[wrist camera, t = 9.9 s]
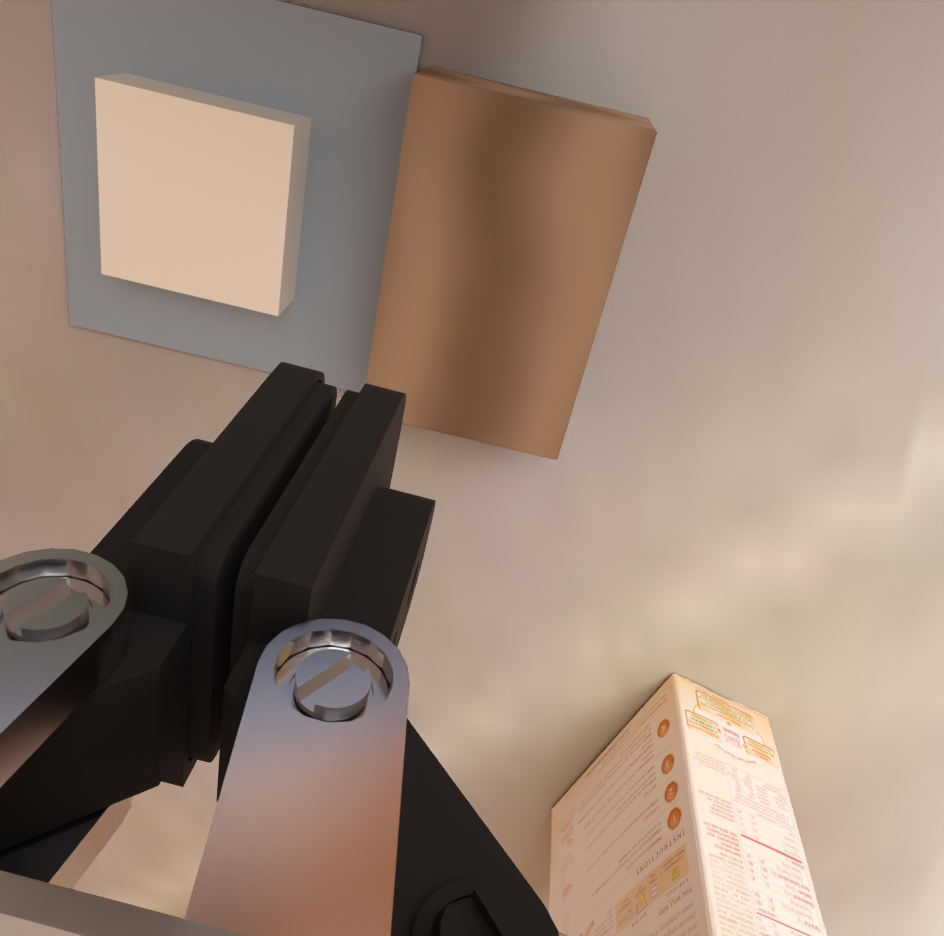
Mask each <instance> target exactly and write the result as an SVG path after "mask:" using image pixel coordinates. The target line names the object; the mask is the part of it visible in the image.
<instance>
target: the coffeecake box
mask: <svg viewBox="0 0 944 936" xmlns="http://www.w3.org/2000/svg"><path fill="white" fill-rule="evenodd" d="M549 915H550V916H551V918H552V920H553V922H554V924H555V925H556V927H557V929H558V931H559V932H561V933H563V934H565V935H567V936H827V933H826V930H825V926H824V923H823V919H822V916H821V912H820V908H819V904H818V901H817V897H816V894H815V890H814V886H813V882H812V879H811V875H810V871H809V868H808V864H807V860H806V856H805V853H804V849H803V845H802V842H801V838H800V835H799V831H798V827H797V824H796V820H795V816H794V813H793V809H792V806H791V802H790V798H789V794H788V790H787V787H786V783H785V779H784V776H783V772H782V768H781V764H780V761H779V757H778V753H777V749H776V746H775V742H774V739H773V735H772V731H771V728H770V724H769V719H768V717H766V716H764V715H762V714H760V713H758V712H756V711H754V710H752V709H750V708H747V707H745V706H743V705H741V704H739V703H736V702H733V701H731V700H728V699H725V698H723V697H721V696H719V695H717V694H715V693H713V692H712V691H710V690H708V689H706V688H704V687H703V686H701V685H698V684H696V683H694V682H692V681H690V680H688V679H686V678H683V677H681V676H679V675H677V674H672V675H671V676H670V677H669V678H668V680H667V681H666V682H665V683H664V684H663V685H662V686H661V687H660V688H659V689H658V691H657V692H656V693H655V694H654V695H653V696H652V697H651V698H650V699H649V701H648V702H647V703H646V704H645V705H644V706H643V707H642V708H641V710H640V711H639V712H638V713H637V714H636V715H635V716H634V717H633V719H632V720H631V721H630V722H629V723H628V724H627V725H626V726H625V727H624V729H623V730H622V731H621V732H620V733H619V734H618V735H617V736H616V738H615V739H614V740H613V741H612V742H611V743H610V744H609V745H608V747H607V748H606V749H605V750H604V751H603V752H602V753H601V754H600V755H599V757H598V758H597V759H596V760H595V761H594V762H593V763H592V764H591V766H590V767H589V768H588V769H587V770H586V771H585V772H584V774H583V775H582V776H581V777H580V778H579V779H578V780H577V781H576V782H575V784H574V785H573V786H572V787H571V788H570V789H569V790H568V791H567V793H566V794H565V795H564V796H563V797H562V798H561V799H560V800H559V801H558V803H557V804H556V805H555V806H554V807H553V808H552V809H551V862H550V895H549Z"/></svg>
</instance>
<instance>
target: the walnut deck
mask: <svg viewBox="0 0 944 936" xmlns="http://www.w3.org/2000/svg"><path fill="white" fill-rule="evenodd" d="M656 134H657V132H656V130H655V129H654V127H653V125H652V124H651V122H650V120H649V119H648V118H644V117H640V116H635V115H631V114H627V113H623V112H619V111H615V110H611V109H607V108H602V107H598V106H594V105H590V104H586V103H582V102H578V101H573V100H569V99H565V98H561V97H557V96H553V95H549V94H544V93H540V92H536V91H532V90H528V89H524V88H520V87H516V86H511V85H507V84H503V83H499V82H495V81H491V80H487V79H482V78H478V77H474V76H470V75H466V74H462V73H458V72H453V71H449V70H445V69H441V68H437V67H433V66H430V67H427V68H425V69H423V70H420V71H418V72H416V73H414V74H413V78H412V84H411V91H410V97H409V104H408V111H407V117H406V124H405V130H404V137H403V143H402V150H401V157H400V163H399V170H398V176H397V183H396V189H395V196H394V203H393V209H392V216H391V222H390V229H389V235H388V242H387V249H386V255H385V262H384V268H383V275H382V281H381V288H380V295H379V301H378V308H377V314H376V321H375V328H374V334H373V341H372V347H371V354H370V360H369V367H368V374H367V380H366V383H367V384H371V385H375V386H379V387H382V388H386V389H390V390H394V391H398V392H402V393H406V404H405V410H404V415H403V420H402V423H404V424H408V425H412V426H417V427H421V428H425V429H429V430H433V431H438V432H442V433H446V434H450V435H454V436H458V437H463V438H467V439H471V440H475V441H479V442H484V443H488V444H492V445H496V446H500V447H504V448H509V449H513V450H517V451H521V452H525V453H530V454H534V455H538V456H542V457H546V458H550V459H555V460H557V458H558V455H559V452H560V448H561V445H562V442H563V438H564V435H565V432H566V429H567V425H568V422H569V419H570V416H571V412H572V409H573V406H574V402H575V399H576V396H577V393H578V389H579V386H580V383H581V379H582V376H583V373H584V370H585V366H586V363H587V360H588V357H589V353H590V350H591V347H592V343H593V340H594V337H595V334H596V330H597V327H598V324H599V320H600V317H601V314H602V311H603V307H604V304H605V301H606V298H607V294H608V291H609V288H610V284H611V281H612V278H613V275H614V271H615V268H616V265H617V261H618V258H619V255H620V252H621V248H622V245H623V242H624V239H625V235H626V232H627V229H628V225H629V222H630V219H631V216H632V212H633V209H634V206H635V202H636V199H637V196H638V193H639V189H640V186H641V183H642V180H643V176H644V173H645V170H646V166H647V163H648V160H649V157H650V153H651V150H652V147H653V143H654V140H655V137H656Z"/></svg>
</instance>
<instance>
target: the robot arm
mask: <svg viewBox="0 0 944 936" xmlns="http://www.w3.org/2000/svg"><path fill="white" fill-rule="evenodd" d="M336 397H337V388H336V386H332V385H328V384H325V375H324V373H323V372H321V371H317V370H313V369H309V368H305V367H301V366H297V365H293V364H290V363H286V362H281V363H280V364H278V366H277V367H276V368H275V369H274V370H273V372H272V373H271V374H270V375H269V376H268V378H267V379H266V380H265V381H264V382H263V384H262V385H261V386H260V387H259V388H258V390H257V391H256V392H255V393H254V394H253V396H252V397H251V398H250V399H249V400H248V402H247V403H246V404H245V405H244V406H243V408H242V409H241V410H240V411H239V412H238V414H237V415H236V416H235V417H234V418H233V420H232V421H231V422H230V423H229V424H228V426H227V427H226V428H225V429H224V430H223V432H222V433H221V434H220V435H219V436H218V438H217V439H216V440H215V441H214V442H213V443H211V442H207V441H204V440H200V439H195V440H192V441H190V442H189V443H188V444H187V445H186V446H185V447H184V448H183V449H182V450H181V451H180V452H179V453H178V455H177V456H176V457H175V458H174V459H173V460H172V461H171V462H170V464H169V465H168V466H167V467H166V468H165V469H164V470H163V472H162V473H161V474H160V475H159V476H158V477H157V478H156V479H155V481H154V482H153V483H152V484H151V485H150V486H149V487H148V488H147V490H146V491H145V492H144V493H143V494H142V495H141V496H140V497H139V499H138V500H137V501H136V502H135V503H134V504H133V505H132V507H131V508H130V509H129V510H128V511H127V512H126V513H125V514H124V516H123V517H122V518H121V519H120V520H119V521H118V522H117V523H116V525H115V526H114V527H113V528H112V529H111V530H110V531H109V533H108V534H107V535H106V536H105V537H104V538H103V539H102V540H101V542H100V543H99V544H98V545H97V546H96V547H95V548H94V549H93V551H92V552H91V553H87V552H83V551H79V550H74V549H44V550H37V551H29V552H24V553H21V554H18V555H15V556H12V557H9V558H6V559H3V560H1V561H0V936H567V935H565V934H563V933H561V932H559V931H558V929H557V927H556V925H555V924H554V922H553V920H552V918H551V916H550V915H549V913H548V911H547V909H546V907H545V906H544V904H543V903H542V901H541V900H540V898H539V897H538V896H537V894H536V893H535V892H534V890H533V889H532V888H531V886H530V885H529V883H528V882H527V881H526V879H525V878H524V877H523V875H522V874H521V873H520V871H519V870H518V869H517V867H516V866H515V864H514V863H513V862H512V860H511V859H510V858H509V856H508V855H507V854H506V852H505V851H504V850H503V848H502V847H501V845H500V844H499V843H498V841H497V840H496V839H495V837H494V836H493V835H492V833H491V832H490V830H489V829H488V828H487V826H486V825H485V824H484V822H483V821H482V820H481V818H480V817H479V816H478V814H477V813H476V811H475V810H474V809H473V807H472V806H471V805H470V803H469V802H468V801H467V799H466V798H465V796H464V795H463V794H462V792H461V791H460V790H459V788H458V787H457V786H456V784H455V783H454V782H453V780H452V779H451V777H450V776H449V775H448V773H447V772H446V771H445V769H444V768H443V767H442V765H441V764H440V763H439V761H438V760H437V758H436V757H435V756H434V754H433V753H432V752H431V750H430V749H429V748H428V746H427V745H426V743H425V742H424V741H423V739H422V738H421V737H420V735H419V734H418V733H417V731H416V730H415V729H414V727H413V726H412V724H411V723H410V722H409V720H408V719H407V710H408V697H409V675H408V667H407V664H406V662H405V660H404V659H403V657H402V655H401V653H400V651H399V649H398V648H397V646H398V643H399V640H400V637H401V633H402V630H403V627H404V624H405V620H406V617H407V614H408V611H409V607H410V604H411V600H412V597H413V593H414V590H415V586H416V583H417V579H418V575H419V571H420V568H421V564H422V560H423V556H424V552H425V547H426V543H427V539H428V535H429V530H430V526H431V522H432V517H433V513H434V508H435V500H431V499H427V498H424V497H420V496H416V495H412V494H408V493H404V492H400V491H397V490H393V489H389V488H390V483H391V478H392V472H393V467H394V462H395V457H396V452H397V446H398V441H399V436H400V431H401V425H402V420H403V415H404V410H405V404H406V393H402V392H398V391H394V390H390V389H386V388H382V387H379V386H375V385H371V384H367V383H365V385H364V386H363V387H362V389H361V391H360V393H359V392H355V391H351V390H347V391H346V392H345V393H344V395H343V397H342V398H341V400H340V402H339V403H338V405H337V406H336V408H335V405H336ZM219 749H220V757H219V773H218V788H217V802H218V803H217V807H216V810H215V814H214V817H213V821H212V824H211V828H210V831H209V835H208V838H207V842H206V845H205V849H204V852H203V856H202V859H201V863H200V866H199V870H198V873H197V877H196V880H195V884H194V887H193V890H192V894H191V897H190V901H189V904H188V908H187V911H186V915H185V918H184V919H182V918H178V917H175V916H171V915H167V914H164V913H160V912H156V911H152V910H149V909H145V908H141V907H137V906H134V905H130V904H126V903H123V902H119V901H115V900H111V899H107V898H104V897H100V896H96V895H92V894H88V893H85V892H81V891H77V890H73V889H72V888H73V887H74V885H75V884H76V883H77V881H78V880H79V879H80V878H81V876H82V875H83V874H84V872H85V871H86V870H87V868H88V867H89V866H90V864H91V863H92V862H93V860H94V859H95V858H96V857H97V855H98V854H99V853H100V851H101V850H102V849H103V847H104V846H105V845H106V843H107V842H108V841H109V840H110V838H111V837H112V836H113V834H114V833H115V832H116V830H117V829H118V828H119V826H120V825H121V824H122V822H123V820H124V818H125V816H126V815H127V813H128V811H129V809H130V807H131V802H132V797H133V796H134V795H137V794H139V793H142V792H144V791H146V790H149V789H151V788H154V787H156V786H158V785H159V784H160V782H161V781H162V782H166V783H170V784H174V785H178V786H182V787H183V786H184V784H185V782H186V780H187V778H188V777H189V775H190V773H191V771H192V769H193V767H194V765H195V763H196V761H197V760H201V761H205V762H209V763H210V762H212V761H213V759H214V758H215V756H216V755H217V753H218V751H219Z"/></svg>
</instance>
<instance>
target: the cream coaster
mask: <svg viewBox="0 0 944 936" xmlns="http://www.w3.org/2000/svg"><path fill="white" fill-rule="evenodd" d="M95 100H96V129H97V158H98V188H99V217H100V246H101V274H104V275H108V276H112V277H116V278H121V279H125V280H129V281H133V282H137V283H142V284H146V285H150V286H154V287H158V288H162V289H167V290H171V291H175V292H179V293H183V294H187V295H192V296H196V297H200V298H204V299H208V300H212V301H217V302H221V303H225V304H229V305H233V306H237V307H242V308H246V309H250V310H254V311H258V312H262V313H267V314H271V315H275V316H279V315H280V314H281V313H282V312H283V311H284V310H285V308H286V307H287V306H288V305H289V304H290V303H291V302H292V301H293V300H294V299H295V289H296V279H297V268H298V258H299V247H300V237H301V226H302V216H303V205H304V195H305V184H306V174H307V163H308V153H309V142H310V132H311V121H312V118H310V117H306V116H302V115H298V114H293V113H289V112H285V111H281V110H277V109H273V108H269V107H264V106H260V105H256V104H252V103H248V102H244V101H240V100H235V99H231V98H227V97H223V96H219V95H215V94H211V93H206V92H202V91H198V90H194V89H190V88H186V87H182V86H177V85H173V84H169V83H165V82H161V81H157V80H153V79H148V78H144V77H140V76H136V75H132V74H128V73H120V74H113V75H107V76H101V77H95Z"/></svg>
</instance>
